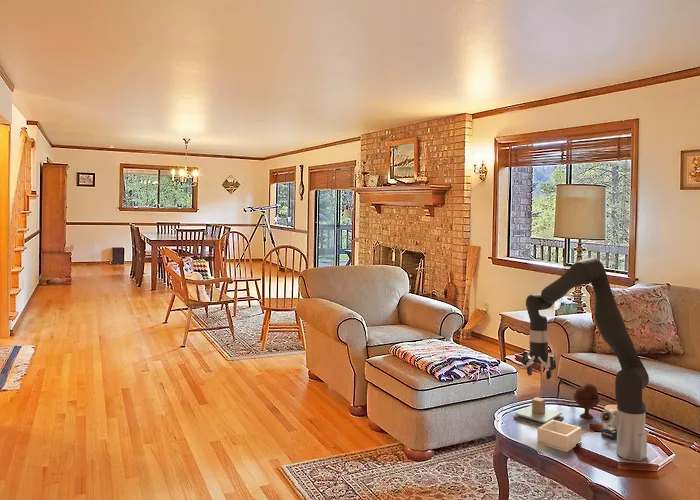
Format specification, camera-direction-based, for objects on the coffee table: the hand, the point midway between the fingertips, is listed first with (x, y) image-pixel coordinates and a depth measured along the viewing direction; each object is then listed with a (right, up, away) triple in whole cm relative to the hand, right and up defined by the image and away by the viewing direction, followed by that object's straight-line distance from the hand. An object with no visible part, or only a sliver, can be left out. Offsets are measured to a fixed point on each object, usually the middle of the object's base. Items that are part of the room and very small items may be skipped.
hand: (539, 377), depth 247 cm
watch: (+22, -20, -19) cm, 35 cm away
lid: (0, -16, +1) cm, 17 cm away
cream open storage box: (0, -20, -23) cm, 31 cm away
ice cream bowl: (+21, -18, +2) cm, 28 cm away
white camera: (+30, -19, -9) cm, 36 cm away
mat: (0, -18, +1) cm, 19 cm away
